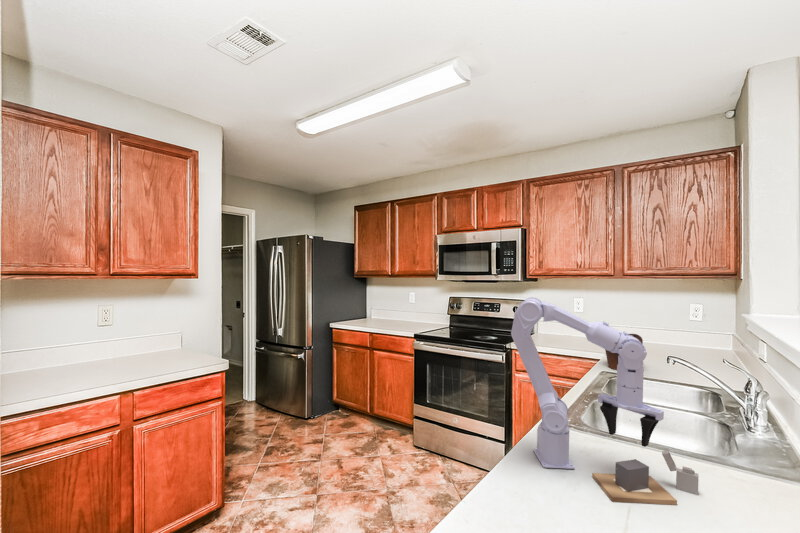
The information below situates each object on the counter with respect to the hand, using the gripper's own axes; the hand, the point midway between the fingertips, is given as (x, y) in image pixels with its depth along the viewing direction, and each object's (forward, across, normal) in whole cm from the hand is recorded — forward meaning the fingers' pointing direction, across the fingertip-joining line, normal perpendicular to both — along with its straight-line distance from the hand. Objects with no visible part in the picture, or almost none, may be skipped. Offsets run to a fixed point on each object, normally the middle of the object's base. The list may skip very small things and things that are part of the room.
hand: (628, 439), depth 97 cm
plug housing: (+8, +3, -6) cm, 10 cm away
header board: (+9, +3, -5) cm, 11 cm away
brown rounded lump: (+10, -49, +109) cm, 120 cm away
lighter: (+10, +9, +5) cm, 14 cm away
